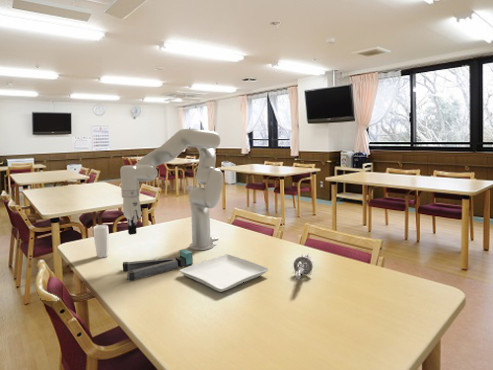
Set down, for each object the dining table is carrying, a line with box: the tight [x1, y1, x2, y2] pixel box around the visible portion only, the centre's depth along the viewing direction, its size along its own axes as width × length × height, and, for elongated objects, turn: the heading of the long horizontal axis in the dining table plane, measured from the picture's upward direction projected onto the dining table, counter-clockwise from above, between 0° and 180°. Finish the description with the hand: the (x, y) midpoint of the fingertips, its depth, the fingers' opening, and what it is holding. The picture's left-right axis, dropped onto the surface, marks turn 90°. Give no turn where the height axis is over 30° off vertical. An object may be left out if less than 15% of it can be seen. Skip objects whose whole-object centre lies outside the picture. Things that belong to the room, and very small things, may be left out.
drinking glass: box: [92, 224, 110, 259], centre depth 169 cm, size 7×7×15 cm
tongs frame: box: [126, 255, 194, 282], centre depth 151 cm, size 29×6×3 cm, turn 128°
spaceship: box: [293, 253, 314, 281], centre depth 145 cm, size 8×35×8 cm
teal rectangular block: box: [178, 248, 194, 265], centre depth 159 cm, size 3×7×5 cm, turn 38°
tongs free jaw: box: [122, 257, 174, 272], centre depth 155 cm, size 22×3×3 cm, turn 106°
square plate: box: [179, 253, 270, 293], centre depth 145 cm, size 27×27×4 cm
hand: (132, 233), depth 157 cm, fingers closed
